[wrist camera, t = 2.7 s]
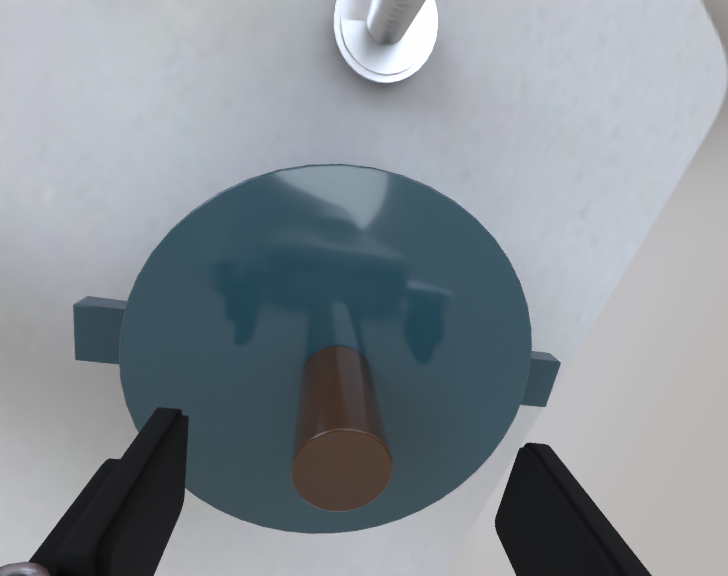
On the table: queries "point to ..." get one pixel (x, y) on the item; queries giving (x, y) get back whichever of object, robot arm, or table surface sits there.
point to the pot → (104, 319)
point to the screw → (385, 36)
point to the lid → (328, 346)
